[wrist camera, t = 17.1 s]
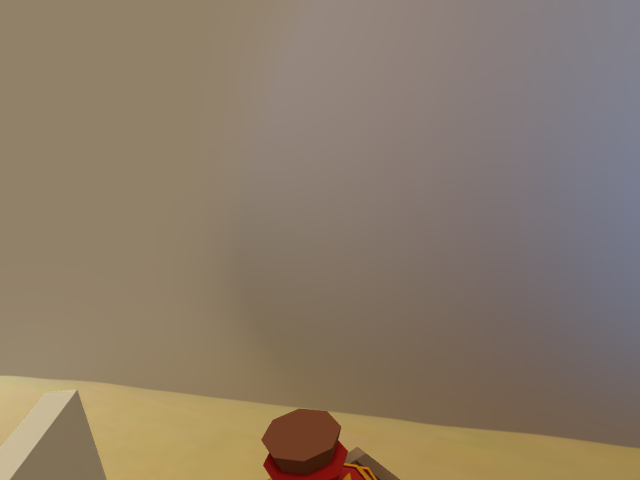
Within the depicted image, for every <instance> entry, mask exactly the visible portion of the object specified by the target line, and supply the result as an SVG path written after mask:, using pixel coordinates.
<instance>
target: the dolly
mask: <svg viewBox="0 0 640 480" xmlns="http://www.w3.org/2000/svg"><path fill="white" fill-rule="evenodd" d="M345 463H348V464H354V465H358V466H361V467H369V469H370V470H371V472H372V473H373V475H374V476H375V478H376V479H377V480H400V479H398V478H397V477H396V476H395V475H393V474H392V473H391V472H389V471H388V470H387V469H385V468H384V467H383V466H382V465H380V464H379V463H378V462H376V461H375V460H374V459H373V458H371V457H370V456H369V455H367V454H366V453H365V452H364V451H362V450H361V449H360V448H358V447H357V448H355V449H354V450H352V451H350V452H349V453H347V457H346V460H345ZM369 477H370V476H369Z"/></svg>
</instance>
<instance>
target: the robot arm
mask: <svg viewBox="0 0 640 480" xmlns="http://www.w3.org/2000/svg"><path fill="white" fill-rule="evenodd" d="M0 480H107V479H106V476H105V473H104V470H103V467H102V464H101V461H100V458H99V455H98V451H97V448H96V445H95V442H94V439H93V436H92V433H91V430H90V427H89V424H88V421H87V418H86V415H85V412H84V409H83V405H82V402H81V399H80V396H79V393H78V390H65V391H51V392H46V393H45V394H44V395H43V396H42V398H41V399H40V400H39V401H38V402H37V404H36V405H35V406H34V407H33V408H32V410H31V411H30V412H29V413H28V414H27V416H26V417H25V418H24V419H23V421H22V422H21V423H20V424H19V425H18V427H17V428H16V429H15V430H14V431H13V433H12V434H11V435H10V436H9V437H8V439H7V440H6V441H5V442H4V443H3V445H2V446H1V447H0Z"/></svg>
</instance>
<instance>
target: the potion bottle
mask: <svg viewBox="0 0 640 480" xmlns="http://www.w3.org/2000/svg"><path fill="white" fill-rule="evenodd" d="M340 430H341V426H340V425H339V424H338V423H337V422H336V421H335V419H334V418H333V417H332V416H331V415H330V414H329V413H328V412H327V411H319V410H308V409H297V410H295V411H293V412H290V413H288V414H286V415H283V416H281V417H279V418H276V419H274V420H272V422H271V424H270V426H269V427H268V429H267V431H266V433H265V434H264V436H263V438H262V442H263V443H264V445H265V446H266V448H267V449H268V451H269V452H270V453H269V455H268V456H267V458H266V460H265V462H264V465H263V466H264V467H265V469H266V471H267V472H268V474H269V475H270V477H271V478H270V479H268V480H377V479H376V478H375V476H374V475H373V473H372V472H371V470H370V469H369V467H361V466H358V465H354V464H348V463H345V460H346V457H347V453H348V451H347V450H346V448H345V447H344V446H343V445H342V444H341V443H340V442H339V441H338V438H339V434H340ZM369 476H370V477H369Z"/></svg>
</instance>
